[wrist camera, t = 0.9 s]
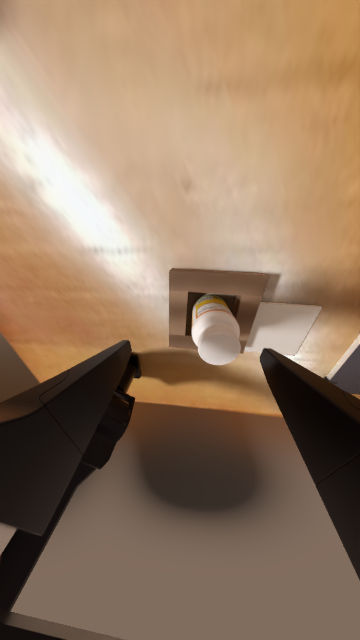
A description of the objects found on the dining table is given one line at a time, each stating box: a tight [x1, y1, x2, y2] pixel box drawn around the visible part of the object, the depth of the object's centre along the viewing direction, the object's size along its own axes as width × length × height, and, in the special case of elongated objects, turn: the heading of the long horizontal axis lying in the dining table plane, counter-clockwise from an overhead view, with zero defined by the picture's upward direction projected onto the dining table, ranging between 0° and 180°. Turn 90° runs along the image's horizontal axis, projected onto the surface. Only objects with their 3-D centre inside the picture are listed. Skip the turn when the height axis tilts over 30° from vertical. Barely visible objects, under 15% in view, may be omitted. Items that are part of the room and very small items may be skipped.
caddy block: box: [169, 268, 269, 354], centre depth 20 cm, size 12×12×2 cm
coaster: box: [244, 302, 322, 356], centre depth 21 cm, size 9×9×1 cm
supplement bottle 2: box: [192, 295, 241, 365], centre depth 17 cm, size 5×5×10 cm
